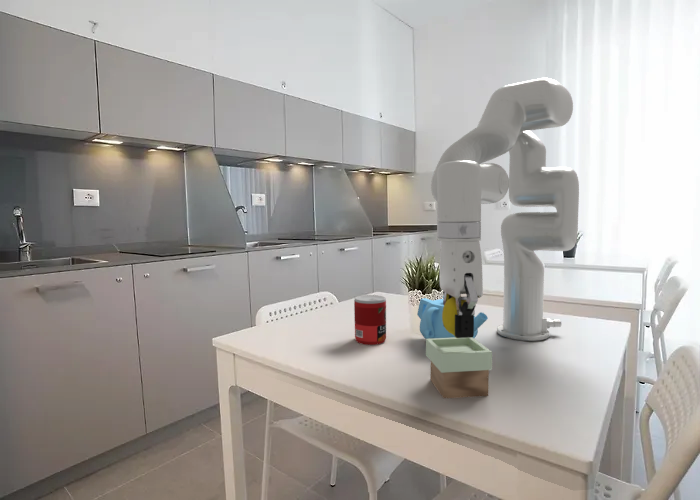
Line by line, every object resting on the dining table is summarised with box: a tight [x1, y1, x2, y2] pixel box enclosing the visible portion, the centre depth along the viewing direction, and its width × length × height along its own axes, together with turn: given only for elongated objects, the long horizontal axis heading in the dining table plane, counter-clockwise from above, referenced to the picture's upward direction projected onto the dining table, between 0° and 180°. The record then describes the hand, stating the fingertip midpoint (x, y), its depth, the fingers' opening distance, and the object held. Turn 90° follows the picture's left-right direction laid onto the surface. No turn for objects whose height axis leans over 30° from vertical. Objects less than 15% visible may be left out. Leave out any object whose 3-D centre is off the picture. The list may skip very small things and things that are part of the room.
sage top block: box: [425, 337, 493, 373], centre depth 75 cm, size 9×9×3 cm
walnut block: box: [430, 360, 490, 399], centre depth 76 cm, size 8×8×5 cm
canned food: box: [353, 294, 387, 346], centre depth 104 cm, size 8×8×11 cm
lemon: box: [442, 295, 466, 336], centre depth 75 cm, size 6×6×8 cm
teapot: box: [417, 295, 488, 340], centre depth 101 cm, size 20×17×12 cm
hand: (457, 331), depth 75 cm, fingers closed on lemon, 5 cm apart
